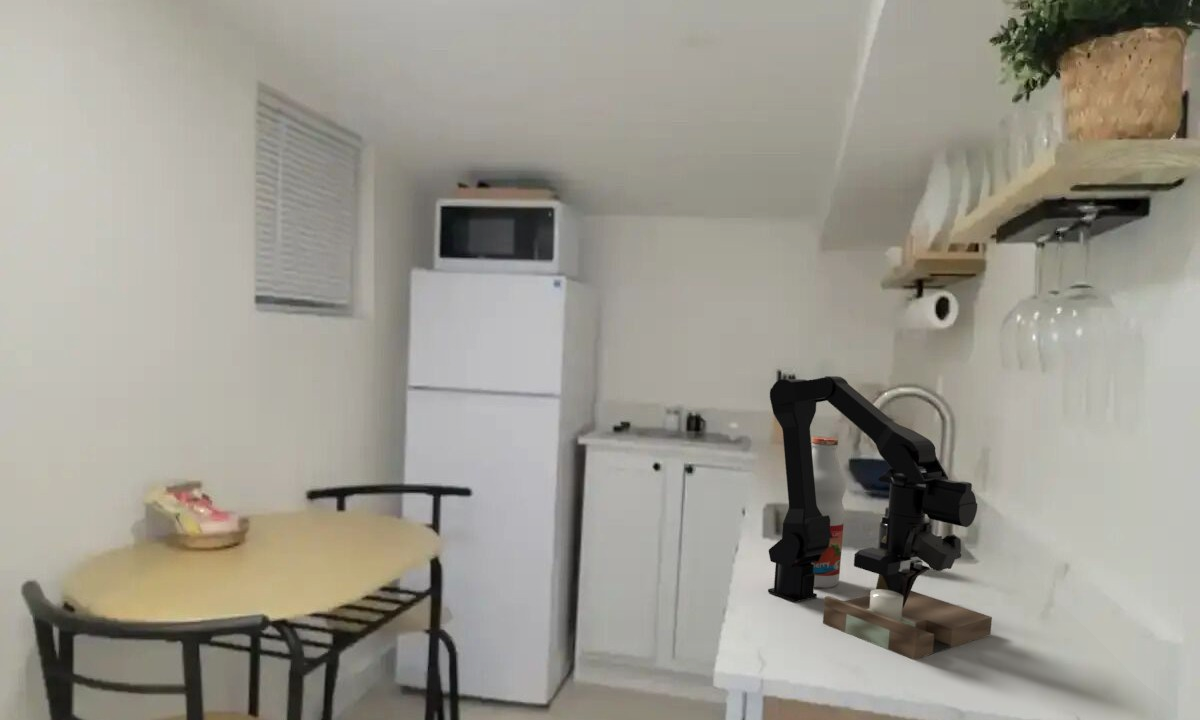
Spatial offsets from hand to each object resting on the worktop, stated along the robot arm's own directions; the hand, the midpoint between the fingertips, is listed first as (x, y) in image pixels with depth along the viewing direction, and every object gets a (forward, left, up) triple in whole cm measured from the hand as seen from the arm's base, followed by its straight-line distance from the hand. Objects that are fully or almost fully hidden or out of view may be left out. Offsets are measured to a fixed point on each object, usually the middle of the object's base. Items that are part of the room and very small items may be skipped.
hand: (899, 607), depth 141 cm
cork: (-13, +18, -4) cm, 22 cm away
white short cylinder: (0, -4, -1) cm, 4 cm away
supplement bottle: (-25, +36, -4) cm, 44 cm away
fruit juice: (-25, +10, -4) cm, 27 cm away
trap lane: (0, +3, -4) cm, 5 cm away
